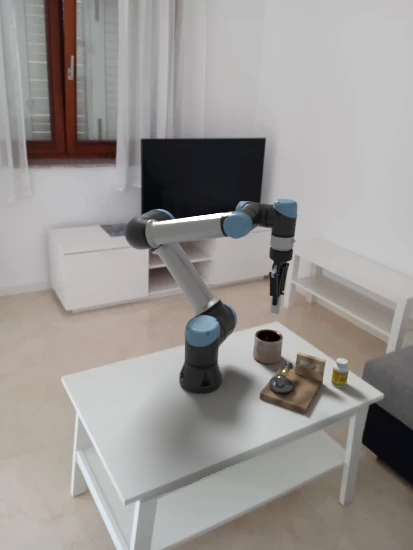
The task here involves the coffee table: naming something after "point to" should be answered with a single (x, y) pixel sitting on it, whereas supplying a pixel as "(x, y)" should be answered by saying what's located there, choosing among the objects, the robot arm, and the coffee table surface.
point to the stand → (299, 383)
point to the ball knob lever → (282, 381)
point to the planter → (267, 346)
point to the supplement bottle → (340, 373)
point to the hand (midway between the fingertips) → (275, 312)
